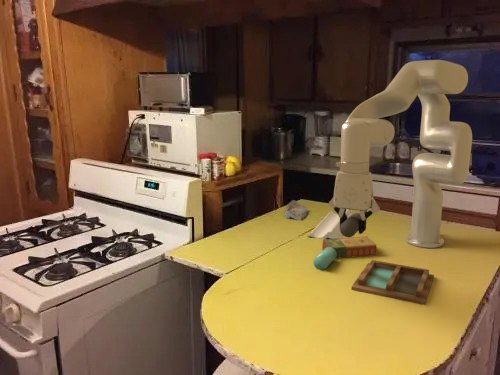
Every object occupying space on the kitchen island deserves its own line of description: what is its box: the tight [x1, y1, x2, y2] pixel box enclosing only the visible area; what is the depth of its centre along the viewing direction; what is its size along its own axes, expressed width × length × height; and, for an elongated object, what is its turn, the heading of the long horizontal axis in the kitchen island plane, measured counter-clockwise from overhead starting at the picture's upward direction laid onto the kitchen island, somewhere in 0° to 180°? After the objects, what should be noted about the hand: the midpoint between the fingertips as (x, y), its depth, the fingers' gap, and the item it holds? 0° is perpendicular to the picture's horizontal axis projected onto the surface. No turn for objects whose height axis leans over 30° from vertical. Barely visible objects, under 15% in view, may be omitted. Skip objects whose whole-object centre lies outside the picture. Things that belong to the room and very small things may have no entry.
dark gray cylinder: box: [340, 212, 361, 238], centre depth 122 cm, size 9×4×4 cm, turn 150°
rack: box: [351, 259, 435, 306], centre depth 123 cm, size 18×19×2 cm
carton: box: [321, 235, 378, 259], centre depth 146 cm, size 8×16×4 cm, turn 96°
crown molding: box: [307, 209, 354, 240], centre depth 172 cm, size 31×12×4 cm, turn 156°
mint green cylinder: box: [313, 247, 337, 271], centre depth 136 cm, size 9×4×4 cm, turn 151°
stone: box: [283, 199, 309, 221], centre depth 189 cm, size 17×5×10 cm
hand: (352, 230), depth 122 cm, fingers closed on dark gray cylinder, 4 cm apart
